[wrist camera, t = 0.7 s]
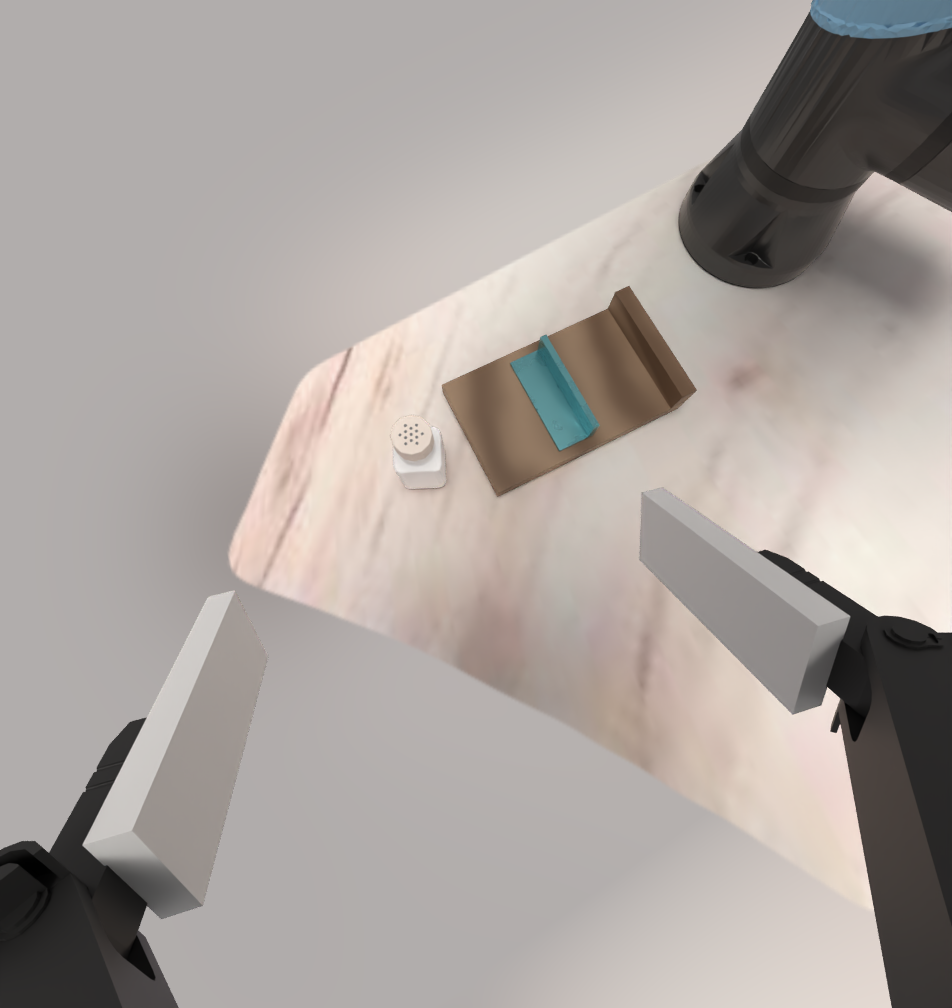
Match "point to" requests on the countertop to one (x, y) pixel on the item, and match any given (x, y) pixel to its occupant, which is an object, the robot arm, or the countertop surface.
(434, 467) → the pepper shaker
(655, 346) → the shelf board
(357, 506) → the countertop surface
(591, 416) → the bookend
